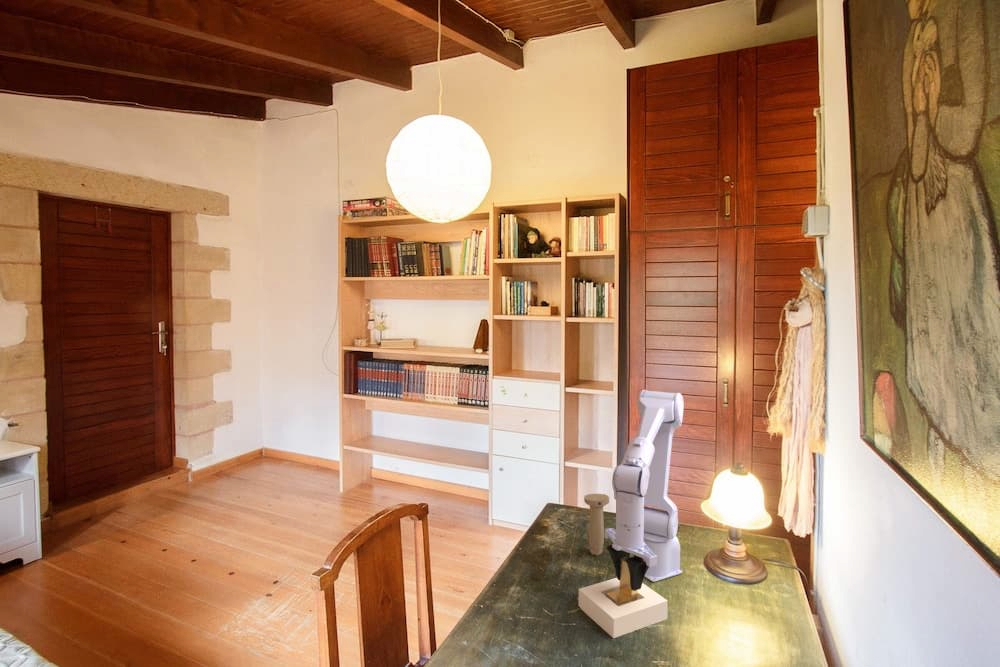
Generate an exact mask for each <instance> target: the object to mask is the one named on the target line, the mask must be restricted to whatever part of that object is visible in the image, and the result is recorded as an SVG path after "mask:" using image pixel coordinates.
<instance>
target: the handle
mask: <svg viewBox="0 0 1000 667" xmlns="http://www.w3.org/2000/svg"><path fill="white" fill-rule="evenodd" d="M583 501H584V503H585V504H586V505H588V506H589V522H588V544H589V552H590V554H591V555H593V556H594V555H595V556H600V555H602V554H603V551H604V549H603V548H604V542H605V540H604V539H605V524H604V507H605V506H607V505H608V504H609V503H610V496H608V494H604V493H590V494H585V495H584V496H583Z"/></svg>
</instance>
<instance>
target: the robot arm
mask: <svg viewBox="0 0 1000 667" xmlns="http://www.w3.org/2000/svg"><path fill="white" fill-rule="evenodd" d="M684 404H685V403H684V397H683V395H682V394H681V392H664V391H655V390H647V389H642V390H641V392H639V395H638V398H637V410H638V413H639V417H640V422H639V427H638V430H637V433H636V434H637V435H636V437H633V438H631V439H630V441H629V443H628V445H627V447H626V451H625V453H624V456H623V458H622V461H621V463H620V465H616V466H615V468H614V469H613V472H612V479H611V484H612V485H611V486H612V490H613V498H614V500H615V506H616V507H615V509H616V510H615V529H614V528H613V527H610V528H606V529H605V528H604V539H606V540H611V541H612V543H611V544H609V545H607V546H606V550H607V552H608V553H609V555H610V558H611V560H612V564H613V567H614V571H615V575H616V578H617V579H618V580H620V558H623V557H627V559H626V563H627V565H628V568H629V573H630V586H631V589H632V590H633V591H635V590H638V589H641V586H642V583H643V582H644V579H645V578H646V579H647V580H649V581H650V582H652V583H655V582H658V581H659V582H660V581H663V580H664V579H667V578H671V577H674V576H678V575H681V574H683V570H682V569H681V544H680V541H679V538H678V537H677V533H678V527H679V516H678V511H679V510H678V506H677V505H676V503H674V502H673V500H671V498H670V497H668V488H669V478H670V468H671V467H670V466H671V459H672V458H671V455H672V446H673V437H674V436H673V435H674V433H675V430H676V429H678V428H681V427H682V423H683V418H684V408H685V407H684V406H685V405H684ZM631 555H633V556H632V557H630V556H631Z"/></svg>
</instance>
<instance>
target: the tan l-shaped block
mask: <svg viewBox="0 0 1000 667" xmlns="http://www.w3.org/2000/svg"><path fill="white" fill-rule="evenodd" d="M626 559H627V557H623V558H620V588H619V590H616V591H613V592H609V593H606V597H607V598H608V599H610V600H611V601H612V602H613V603H615V604H616V605H617V606H621V605H624V604H627V603H630V602H633V601H636V600H637V590H635V591H633V590H632V589H631V586H630V573H629V568H628V565H627V563H626Z"/></svg>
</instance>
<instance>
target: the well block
mask: <svg viewBox="0 0 1000 667" xmlns="http://www.w3.org/2000/svg"><path fill="white" fill-rule="evenodd" d="M619 588H620V580H618V579H617V577H614V578H611V579H607V580H604V581H601V582H598V583H594V584H590V585H588V586H585V587H581V588H580V587H579V588H578V607H580V608H581V609H580V608H579V609H580V610H582V612H584V614H586V615H587V616H588V617H589V618H590V619H591V620H592V621H594V622H595V623H596V625H598V626H599V627H601V629H602V630H603V631H605V633H607V634H608V635H609V636H610V637H611V638H612V639H615V638H619V637H621V636H624V635H627V634H630V633H633V632H635V630H636V631H638V630H640V629H643V628H646V627H649V626H652V625H655V624H657V623H660V622H664V621H667V620H668V613H669V612H668V610H669V609H668V605H669V604H668V602H669V601H668V600H667V599H666V598H665V597H663V596H662V595H660V594H659V593H658V592H656V591H655V590H653V589H651V587H649V586H648V585H646V584H645V583H643V582H642V586H641V589H638V590H637V600H636V601H633V602H630V603H627V604H624V605H621V606H617V605H616V604H615V603H613V602H612V601H611V600H610V599H608V598H607V597H606V593H609V592H613V591H616V590H619Z"/></svg>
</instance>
